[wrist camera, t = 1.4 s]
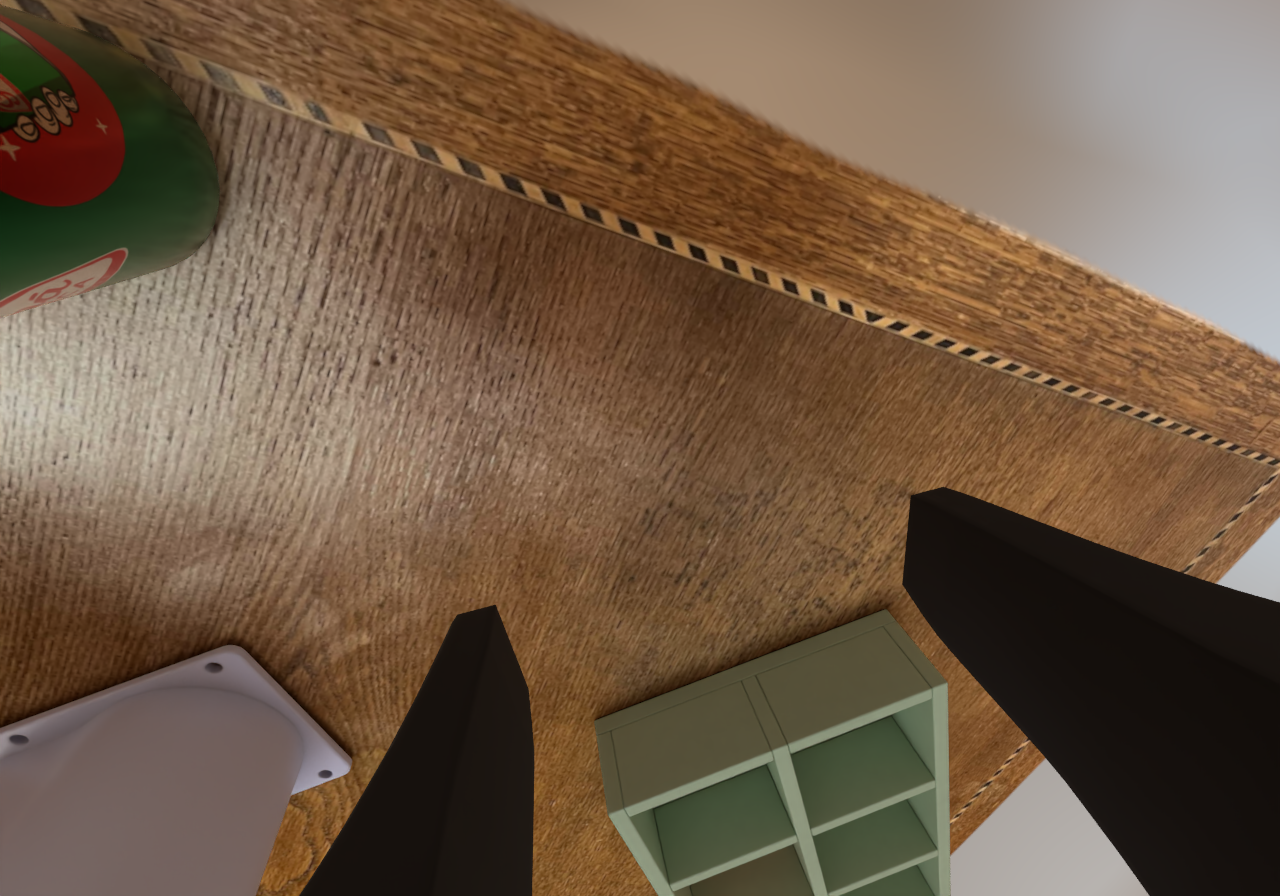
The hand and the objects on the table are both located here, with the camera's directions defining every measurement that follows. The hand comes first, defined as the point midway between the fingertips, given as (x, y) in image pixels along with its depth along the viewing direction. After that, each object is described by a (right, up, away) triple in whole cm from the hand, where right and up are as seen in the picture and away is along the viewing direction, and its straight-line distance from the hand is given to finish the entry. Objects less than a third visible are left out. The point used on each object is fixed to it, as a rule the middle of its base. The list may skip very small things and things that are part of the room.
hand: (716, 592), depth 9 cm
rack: (+7, -17, +22) cm, 28 cm away
